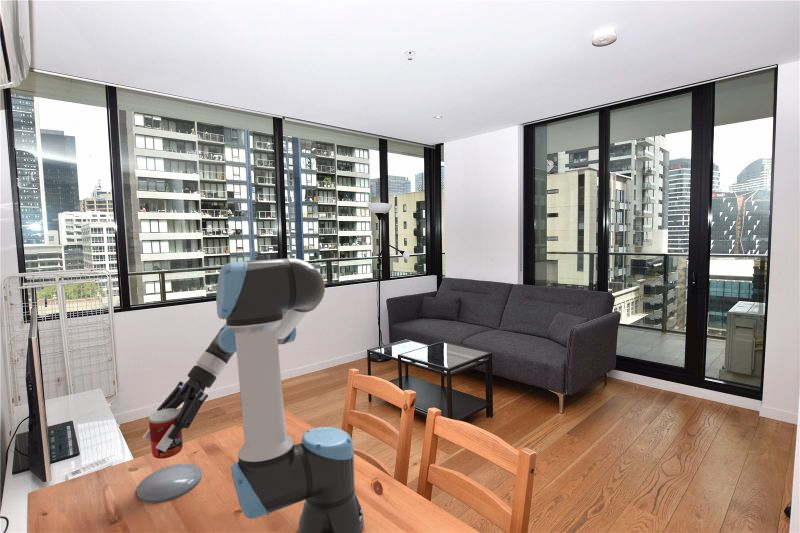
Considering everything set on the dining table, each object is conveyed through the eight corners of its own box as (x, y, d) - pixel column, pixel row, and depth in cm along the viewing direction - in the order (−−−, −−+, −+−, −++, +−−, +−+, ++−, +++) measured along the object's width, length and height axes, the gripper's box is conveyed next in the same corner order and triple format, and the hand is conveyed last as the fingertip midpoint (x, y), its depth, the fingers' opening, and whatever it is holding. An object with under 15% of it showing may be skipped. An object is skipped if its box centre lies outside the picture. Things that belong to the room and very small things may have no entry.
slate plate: (210, 481, 118) (210, 478, 118) (147, 511, 107) (147, 507, 106) (189, 460, 129) (188, 457, 129) (129, 485, 117) (129, 481, 117)
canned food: (159, 462, 112) (156, 423, 111) (147, 453, 117) (143, 415, 115) (188, 449, 118) (185, 412, 117) (175, 441, 123) (172, 405, 121)
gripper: (234, 383, 121) (181, 462, 110) (199, 369, 134) (149, 438, 123) (215, 371, 116) (158, 452, 105) (180, 357, 129) (127, 428, 118)
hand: (153, 444), depth 114 cm, fingers closed on canned food, 8 cm apart
